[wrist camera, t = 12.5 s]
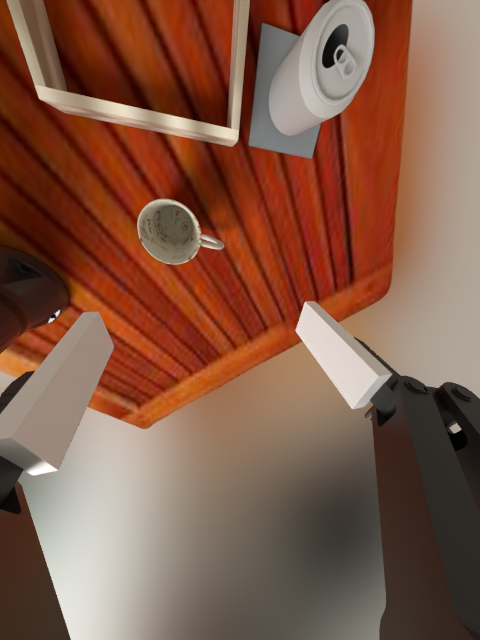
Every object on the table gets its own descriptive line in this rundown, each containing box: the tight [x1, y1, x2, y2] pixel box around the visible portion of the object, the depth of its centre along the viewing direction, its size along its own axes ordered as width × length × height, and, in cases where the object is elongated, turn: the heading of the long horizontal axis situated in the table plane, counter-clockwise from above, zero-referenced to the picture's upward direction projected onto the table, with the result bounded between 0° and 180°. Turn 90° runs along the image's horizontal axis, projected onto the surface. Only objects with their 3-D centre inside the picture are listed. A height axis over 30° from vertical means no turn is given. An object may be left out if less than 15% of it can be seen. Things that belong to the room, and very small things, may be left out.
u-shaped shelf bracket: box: [6, 0, 250, 147], centre depth 21 cm, size 22×13×5 cm, turn 82°
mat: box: [248, 23, 321, 159], centre depth 27 cm, size 11×11×1 cm
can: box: [269, 0, 375, 136], centre depth 22 cm, size 8×8×12 cm
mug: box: [138, 199, 224, 264], centre depth 30 cm, size 8×13×10 cm, turn 71°
